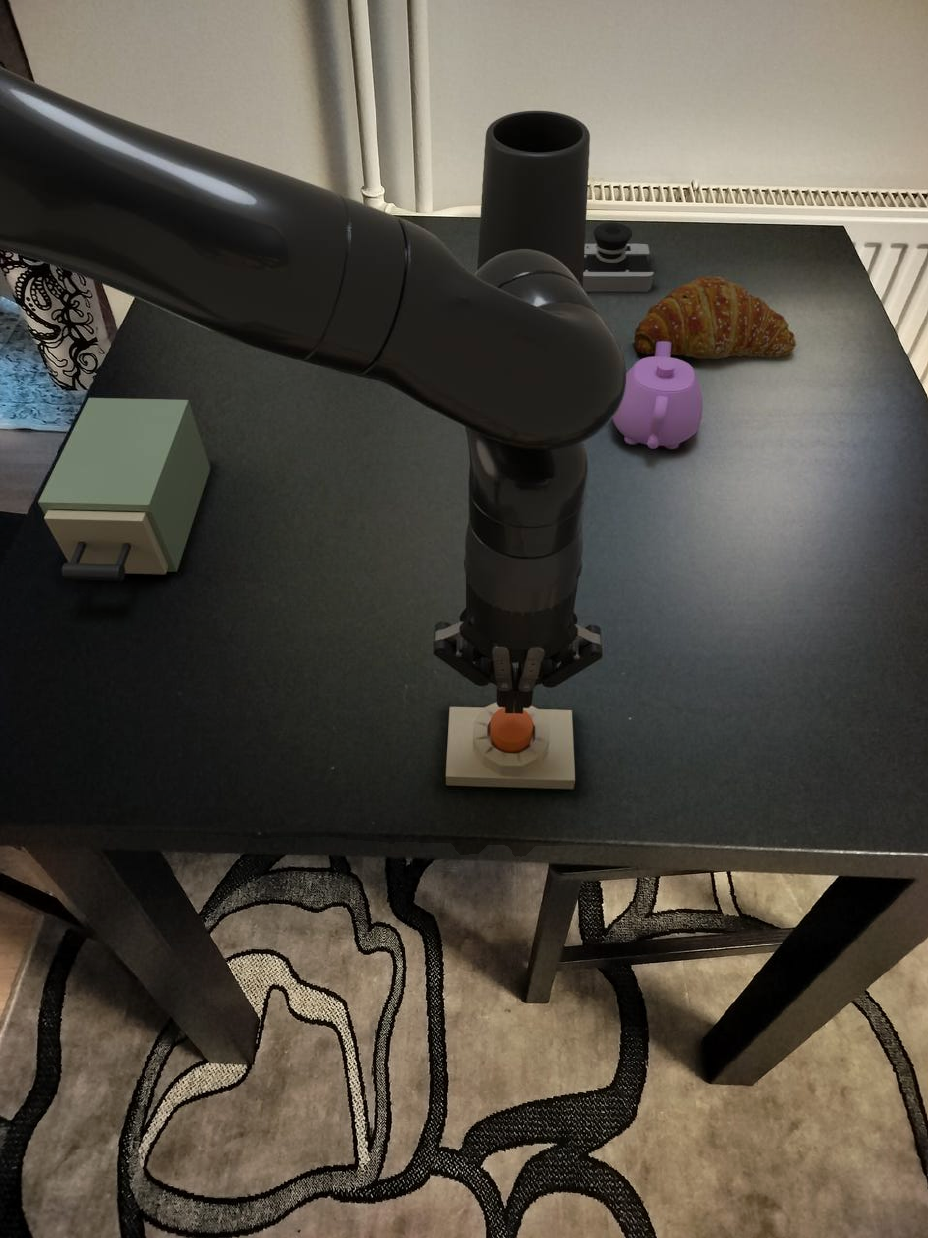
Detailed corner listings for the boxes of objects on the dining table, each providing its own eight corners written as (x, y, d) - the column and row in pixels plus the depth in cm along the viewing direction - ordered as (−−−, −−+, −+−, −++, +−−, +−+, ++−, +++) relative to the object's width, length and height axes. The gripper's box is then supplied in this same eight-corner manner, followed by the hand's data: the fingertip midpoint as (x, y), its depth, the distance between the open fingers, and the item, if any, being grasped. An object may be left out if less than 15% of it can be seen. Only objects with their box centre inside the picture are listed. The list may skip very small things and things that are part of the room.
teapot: (604, 460, 99) (614, 394, 92) (614, 381, 108) (624, 315, 101) (695, 471, 98) (713, 405, 91) (698, 390, 107) (714, 324, 100)
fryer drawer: (154, 608, 85) (129, 555, 79) (59, 605, 86) (27, 552, 79) (198, 476, 97) (179, 421, 91) (115, 474, 97) (90, 419, 91)
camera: (546, 243, 115) (543, 206, 121) (543, 291, 121) (540, 253, 127) (660, 244, 115) (652, 206, 121) (652, 291, 121) (644, 253, 127)
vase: (599, 368, 110) (632, 128, 87) (531, 419, 104) (548, 176, 81) (517, 326, 116) (528, 91, 93) (449, 373, 110) (442, 134, 87)
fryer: (177, 572, 89) (148, 504, 82) (75, 569, 90) (37, 502, 82) (210, 468, 99) (188, 399, 91) (118, 466, 99) (88, 397, 92)
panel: (446, 785, 74) (445, 766, 72) (450, 716, 79) (449, 695, 76) (573, 789, 74) (577, 770, 71) (570, 719, 78) (573, 699, 75)
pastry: (640, 373, 109) (650, 317, 103) (623, 315, 117) (632, 260, 111) (800, 367, 110) (820, 312, 103) (773, 310, 118) (790, 254, 111)
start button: (489, 752, 73) (490, 742, 71) (490, 715, 75) (490, 705, 74) (532, 753, 73) (533, 743, 71) (531, 716, 75) (532, 706, 73)
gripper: (619, 525, 58) (592, 668, 72) (426, 521, 59) (435, 664, 73) (628, 612, 54) (597, 746, 68) (418, 607, 54) (430, 742, 68)
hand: (513, 703), depth 70 cm, fingers closed
